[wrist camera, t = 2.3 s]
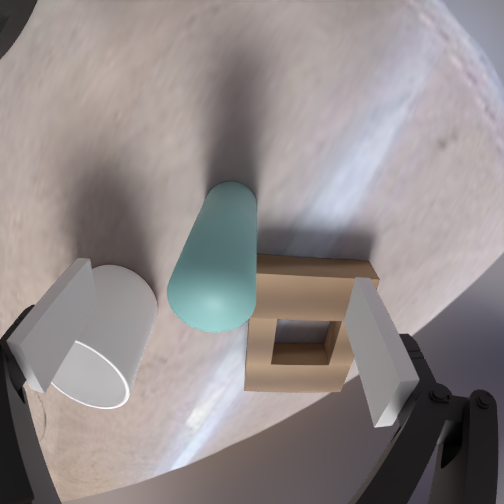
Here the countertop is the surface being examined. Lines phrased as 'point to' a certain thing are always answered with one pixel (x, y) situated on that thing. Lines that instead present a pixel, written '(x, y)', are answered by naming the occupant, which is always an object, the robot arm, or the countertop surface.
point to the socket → (301, 308)
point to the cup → (110, 340)
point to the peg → (218, 262)
